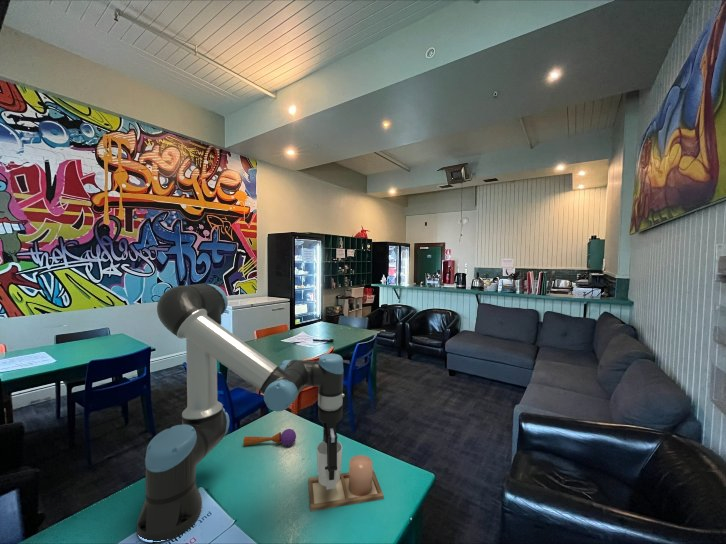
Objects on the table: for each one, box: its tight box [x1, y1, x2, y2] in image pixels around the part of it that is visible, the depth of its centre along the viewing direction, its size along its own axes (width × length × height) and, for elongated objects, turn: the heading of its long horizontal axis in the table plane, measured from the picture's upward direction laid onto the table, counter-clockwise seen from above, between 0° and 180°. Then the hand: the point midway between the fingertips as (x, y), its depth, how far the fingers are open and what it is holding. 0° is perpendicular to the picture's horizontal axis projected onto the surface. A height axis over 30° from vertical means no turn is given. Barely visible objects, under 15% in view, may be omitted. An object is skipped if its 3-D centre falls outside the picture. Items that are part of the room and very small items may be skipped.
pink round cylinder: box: [348, 454, 374, 496], centre depth 93 cm, size 7×7×8 cm
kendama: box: [242, 428, 297, 447], centre depth 117 cm, size 6×6×20 cm
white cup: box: [316, 440, 343, 486], centre depth 91 cm, size 8×8×10 cm
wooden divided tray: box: [307, 468, 385, 512], centre depth 92 cm, size 22×12×2 cm, turn 104°
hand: (329, 478), depth 91 cm, fingers closed on white cup, 7 cm apart
